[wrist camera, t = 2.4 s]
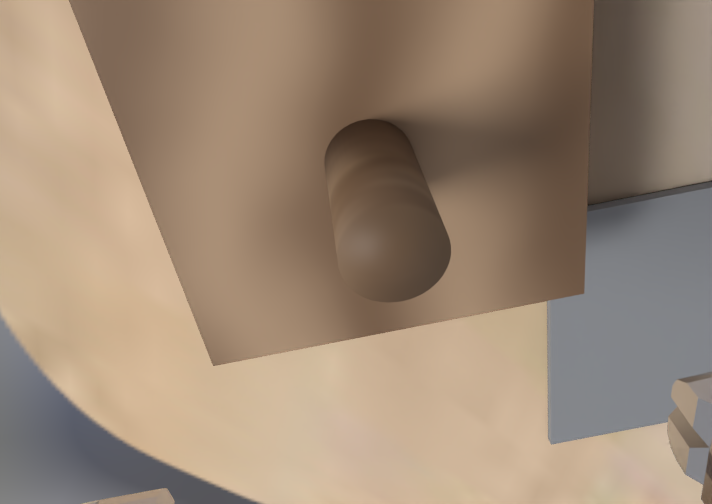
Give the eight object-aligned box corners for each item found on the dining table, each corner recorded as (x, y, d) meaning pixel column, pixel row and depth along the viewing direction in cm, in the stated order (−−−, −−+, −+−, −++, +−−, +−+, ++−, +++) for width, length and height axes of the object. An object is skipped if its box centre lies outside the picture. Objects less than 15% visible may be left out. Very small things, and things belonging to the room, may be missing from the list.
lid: (585, -141, 16) (716, -123, 11) (575, 280, 23) (652, 400, 19) (65, -37, 16) (-23, 25, 12) (215, 350, 24) (199, 487, 19)
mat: (882, 147, 25) (891, 152, 25) (809, 387, 32) (815, 393, 32) (546, 213, 25) (550, 219, 25) (548, 438, 33) (550, 444, 32)
